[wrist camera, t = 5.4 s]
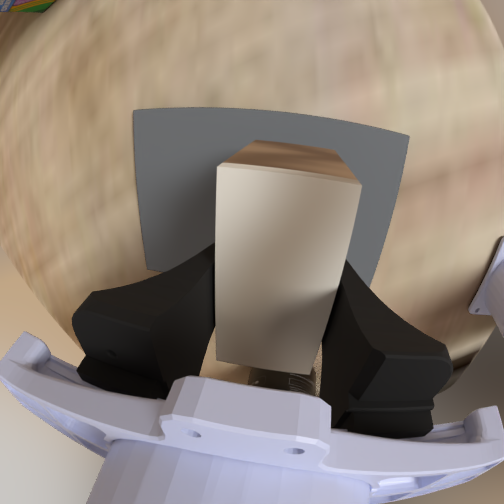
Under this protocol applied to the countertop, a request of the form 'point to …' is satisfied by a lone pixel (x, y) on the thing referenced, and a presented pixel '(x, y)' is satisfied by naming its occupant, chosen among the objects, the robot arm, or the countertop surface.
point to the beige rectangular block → (279, 251)
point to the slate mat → (230, 142)
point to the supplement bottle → (283, 380)
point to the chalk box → (24, 5)
